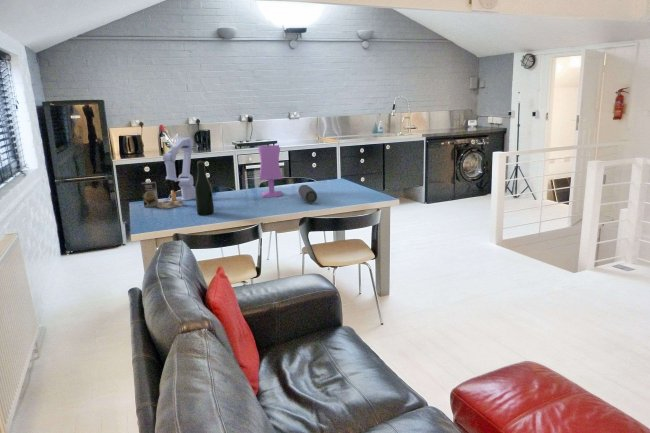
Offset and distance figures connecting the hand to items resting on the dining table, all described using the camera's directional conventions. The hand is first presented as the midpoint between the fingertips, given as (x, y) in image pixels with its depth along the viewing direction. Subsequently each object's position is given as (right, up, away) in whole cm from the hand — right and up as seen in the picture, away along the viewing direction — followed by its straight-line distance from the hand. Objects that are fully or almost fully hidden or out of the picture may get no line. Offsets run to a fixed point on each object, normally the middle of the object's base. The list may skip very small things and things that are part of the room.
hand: (173, 190), depth 318 cm
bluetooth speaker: (+91, -7, 0) cm, 91 cm away
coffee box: (-16, -10, +3) cm, 19 cm away
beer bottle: (+28, -16, -24) cm, 40 cm away
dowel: (0, -10, +2) cm, 10 cm away
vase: (+64, -2, +24) cm, 68 cm away
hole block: (-2, -10, 0) cm, 11 cm away
